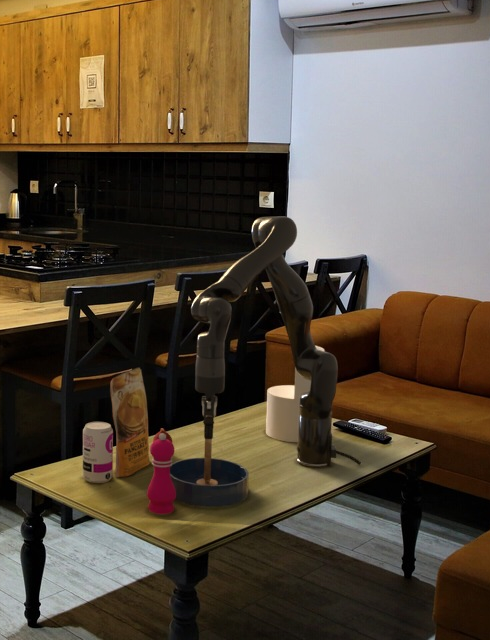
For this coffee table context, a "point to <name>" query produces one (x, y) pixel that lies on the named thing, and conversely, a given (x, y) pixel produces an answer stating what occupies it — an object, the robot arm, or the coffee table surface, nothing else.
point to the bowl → (223, 494)
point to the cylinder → (285, 408)
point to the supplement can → (97, 452)
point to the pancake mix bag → (130, 422)
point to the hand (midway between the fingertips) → (208, 433)
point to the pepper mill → (161, 477)
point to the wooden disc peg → (207, 465)
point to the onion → (164, 433)
